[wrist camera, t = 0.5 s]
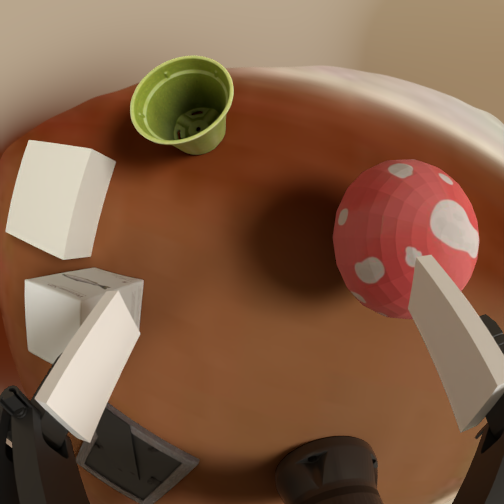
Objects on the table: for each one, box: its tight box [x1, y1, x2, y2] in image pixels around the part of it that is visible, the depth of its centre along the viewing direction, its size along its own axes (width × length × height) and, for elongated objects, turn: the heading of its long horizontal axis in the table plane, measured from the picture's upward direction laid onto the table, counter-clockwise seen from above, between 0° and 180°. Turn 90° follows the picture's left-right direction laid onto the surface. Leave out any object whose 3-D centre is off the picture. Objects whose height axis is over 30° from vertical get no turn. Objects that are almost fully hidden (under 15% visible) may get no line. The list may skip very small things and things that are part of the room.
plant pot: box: [130, 56, 234, 155], centre depth 25 cm, size 9×9×9 cm
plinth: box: [6, 140, 116, 260], centre depth 28 cm, size 12×12×6 cm
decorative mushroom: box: [333, 159, 479, 319], centre depth 22 cm, size 13×13×15 cm
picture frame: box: [76, 402, 199, 504], centre depth 32 cm, size 16×2×21 cm
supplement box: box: [25, 268, 144, 364], centre depth 24 cm, size 7×7×13 cm
